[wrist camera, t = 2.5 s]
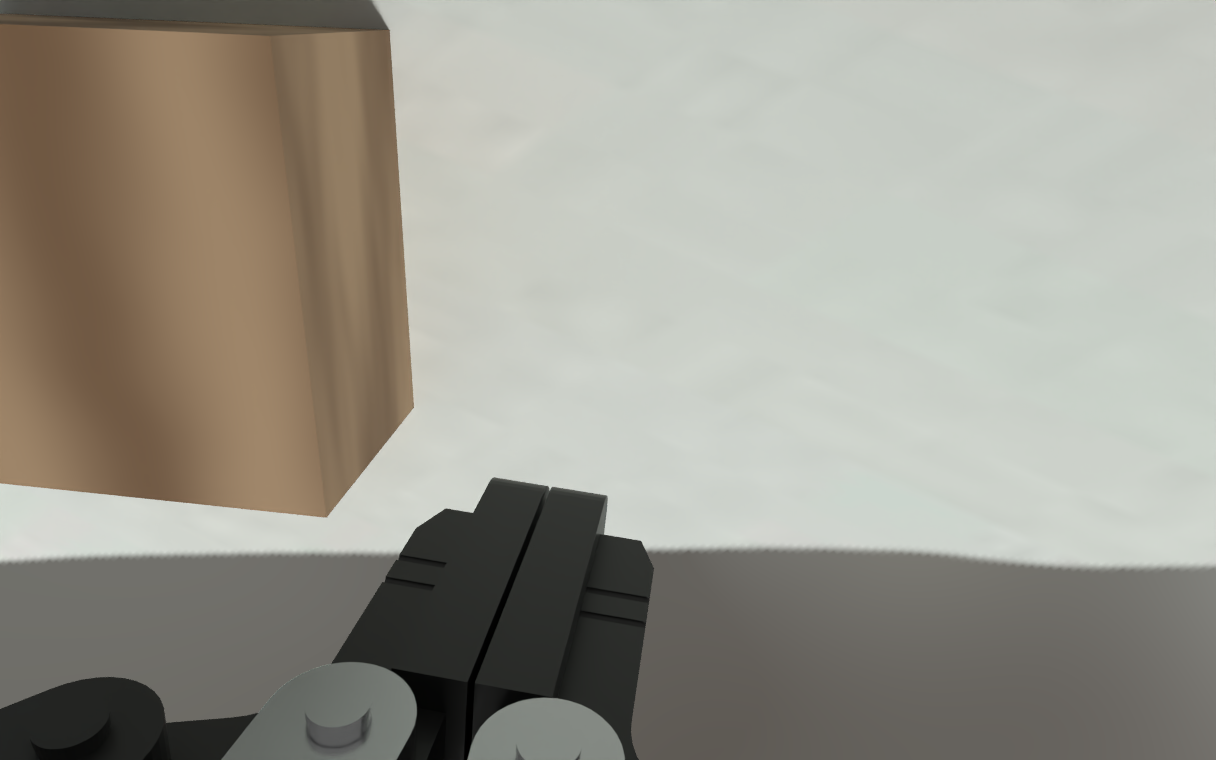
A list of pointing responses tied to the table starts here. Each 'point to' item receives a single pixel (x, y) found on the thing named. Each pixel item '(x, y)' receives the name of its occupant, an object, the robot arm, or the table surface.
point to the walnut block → (199, 260)
